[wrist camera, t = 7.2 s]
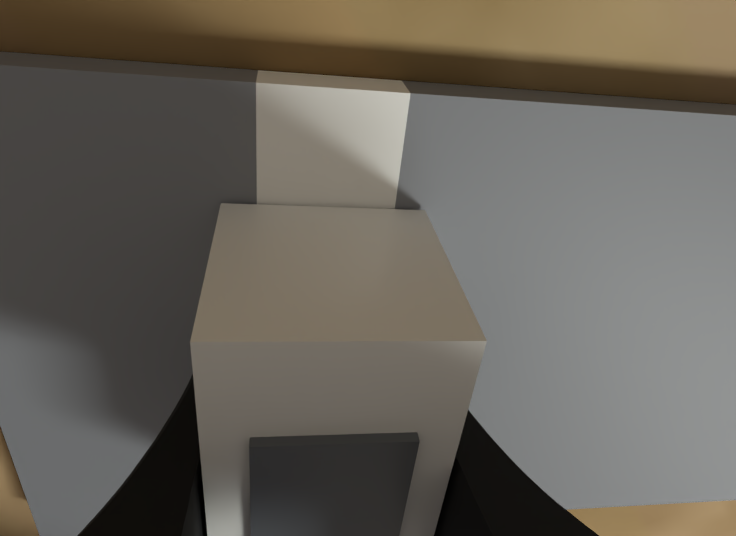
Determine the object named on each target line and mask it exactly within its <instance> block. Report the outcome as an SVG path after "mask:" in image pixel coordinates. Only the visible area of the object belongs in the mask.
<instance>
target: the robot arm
mask: <svg viewBox="0 0 736 536" xmlns="http://www.w3.org/2000/svg"><path fill="white" fill-rule="evenodd" d="M77 536H207V525H206V514H205V503H204V492H203V481H202V469H201V458H200V447H199V436H198V425H197V414H196V403H195V392H194V380H193V374H192V376H191V379H190V381H189V383H188V385H187V387H186V389H185V391H184V392H183V394H182V396H181V398H180V400H179V401H178V403H177V405H176V407H175V408H174V410H173V412H172V414H171V415H170V417H169V418H168V420H167V421H166V423H165V425H164V426H163V428H162V429H161V431H160V432H159V434H158V436H157V437H156V439H155V440H154V442H153V443H152V445H151V446H150V447H149V449H148V450H147V451H146V453H145V454H144V456H143V457H142V458H141V460H140V461H139V463H138V464H137V465H136V467H135V468H134V470H133V471H132V472H131V474H130V475H129V476H128V477H127V479H126V480H125V481H124V483H123V484H122V485H121V486H120V488H119V489H118V490H117V491H116V492H115V494H114V495H113V496H112V497H111V498H110V500H109V501H108V502H107V503H106V504H105V506H104V507H103V508H102V509H101V510H100V511H99V512H98V514H97V515H96V516H95V517H94V518H93V519H92V520H91V521H90V522H89V523H88V524H87V526H86V527H85V528H84V529H83V530H82V531H81V532H80V533H79V534H78V535H77ZM434 536H599V535H597V534H596V533H595V532H593V531H592V530H591V529H590V528H588V527H587V526H586V525H584V524H583V523H582V522H581V521H579V520H578V519H577V518H576V517H574V516H573V515H572V514H571V513H569V512H568V511H567V510H566V509H564V508H563V507H562V506H561V505H559V504H558V503H557V502H556V501H555V500H554V499H552V498H551V497H550V496H549V495H548V494H547V493H545V492H544V491H543V490H542V489H541V488H540V487H539V486H538V485H537V484H536V483H535V482H534V481H533V480H531V479H530V478H529V477H528V476H527V475H526V474H525V473H524V472H523V471H522V470H521V469H520V468H519V467H518V466H517V465H516V464H515V463H514V462H513V461H512V460H511V458H510V457H509V456H508V455H507V454H506V453H505V452H504V451H503V450H502V449H501V448H500V447H499V445H498V444H497V443H496V442H495V441H494V440H493V439H492V438H491V436H490V435H489V434H488V433H487V432H486V431H485V429H484V428H483V427H482V426H481V425H480V423H479V422H478V421H477V420H476V418H475V417H474V416H473V415H472V414H471V412H470V411H469V410H468V412H467V416H466V420H465V423H464V427H463V431H462V434H461V438H460V442H459V445H458V449H457V452H456V456H455V460H454V463H453V467H452V471H451V474H450V478H449V482H448V485H447V489H446V493H445V496H444V500H443V504H442V507H441V511H440V515H439V518H438V522H437V526H436V529H435V533H434Z"/></svg>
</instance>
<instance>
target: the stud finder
mask: <svg viewBox="0 0 736 536" xmlns="http://www.w3.org/2000/svg"><path fill="white" fill-rule="evenodd" d="M486 343H487V340H486V338H485V336H484V334H483V332H482V329H481V327H480V325H479V323H478V321H477V319H476V317H475V315H474V313H473V310H472V308H471V306H470V304H469V302H468V300H467V298H466V296H465V293H464V291H463V289H462V287H461V285H460V283H459V281H458V279H457V277H456V274H455V272H454V270H453V268H452V266H451V264H450V262H449V260H448V258H447V255H446V253H445V251H444V249H443V247H442V245H441V243H440V241H439V239H438V236H437V234H436V232H435V230H434V228H433V226H432V224H431V222H430V220H429V217H428V215H427V213H426V211H425V210H404V209H375V208H346V207H318V206H289V205H260V204H231V203H221V205H220V209H219V214H218V218H217V223H216V227H215V232H214V236H213V241H212V245H211V250H210V254H209V259H208V263H207V268H206V273H205V277H204V282H203V286H202V291H201V295H200V300H199V304H198V309H197V313H196V318H195V322H194V327H193V331H192V336H191V340H190V347H191V358H192V369H193V380H194V392H195V403H196V414H197V425H198V436H199V447H200V458H201V469H202V481H203V492H204V503H205V514H206V525H207V536H434V533H435V529H436V526H437V522H438V518H439V515H440V511H441V507H442V504H443V500H444V496H445V493H446V489H447V485H448V482H449V478H450V474H451V471H452V467H453V463H454V460H455V456H456V452H457V449H458V445H459V442H460V438H461V434H462V431H463V427H464V423H465V420H466V416H467V412H468V409H469V405H470V401H471V398H472V394H473V390H474V387H475V383H476V379H477V376H478V372H479V368H480V365H481V361H482V357H483V354H484V350H485V346H486Z"/></svg>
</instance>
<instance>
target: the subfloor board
mask: <svg viewBox="0 0 736 536" xmlns="http://www.w3.org/2000/svg"><path fill="white" fill-rule="evenodd" d="M221 203H231V204H260V205H289V206H318V207H346V208H375V209H404V210H425V211H426V213H427V215H428V217H429V220H430V222H431V224H432V226H433V228H434V230H435V232H436V234H437V236H438V239H439V241H440V243H441V245H442V247H443V249H444V251H445V253H446V255H447V258H448V260H449V262H450V264H451V266H452V268H453V270H454V272H455V274H456V277H457V279H458V281H459V283H460V285H461V287H462V289H463V291H464V293H465V296H466V298H467V300H468V302H469V304H470V306H471V308H472V310H473V313H474V315H475V317H476V319H477V321H478V323H479V325H480V327H481V329H482V332H483V334H484V336H485V338H486V340H487V343H486V346H485V350H484V354H483V357H482V361H481V365H480V368H479V372H478V376H477V379H476V383H475V387H474V390H473V394H472V398H471V401H470V405H469V409H468V410H469V411H470V412H471V414H472V415H473V416H474V417H475V418H476V420H477V421H478V422H479V423H480V425H481V426H482V427H483V428H484V429H485V431H486V432H487V433H488V434H489V435H490V436H491V438H492V439H493V440H494V441H495V442H496V443H497V444H498V445H499V447H500V448H501V449H502V450H503V451H504V452H505V453H506V454H507V455H508V456H509V457H510V458H511V460H512V461H513V462H514V463H515V464H516V465H517V466H518V467H519V468H520V469H521V470H522V471H523V472H524V473H525V474H526V475H527V476H528V477H529V478H530V479H531V480H533V481H534V482H535V483H536V484H537V485H538V486H539V487H540V488H541V489H542V490H543V491H544V492H545V493H547V494H548V495H549V496H550V497H551V498H552V499H554V500H555V501H556V502H557V503H558V504H559V505H561V506H562V507H563V508H564V509H583V508H601V507H619V506H637V505H654V504H672V503H690V502H708V501H726V500H736V105H733V104H719V103H705V102H691V101H677V100H663V99H650V98H636V97H622V96H608V95H594V94H580V93H567V92H553V91H539V90H525V89H511V88H498V87H484V86H470V85H456V84H442V83H428V82H415V81H401V80H387V79H373V78H359V77H345V76H332V75H318V74H304V73H290V72H276V71H263V70H249V69H235V68H221V67H207V66H193V65H180V64H166V63H152V62H138V61H124V60H110V59H97V58H83V57H69V56H55V55H41V54H28V53H14V52H0V427H1V429H2V432H3V435H4V438H5V440H6V443H7V446H8V449H9V452H10V454H11V457H12V460H13V463H14V466H15V468H16V471H17V474H18V477H19V479H20V482H21V485H22V488H23V491H24V493H25V496H26V499H27V502H28V505H29V507H30V510H31V513H32V516H33V518H34V521H35V524H36V527H37V530H38V532H39V535H40V536H77V535H78V534H79V533H80V532H81V531H82V530H83V529H84V528H85V527H86V526H87V524H88V523H89V522H90V521H91V520H92V519H93V518H94V517H95V516H96V515H97V514H98V512H99V511H100V510H101V509H102V508H103V507H104V506H105V504H106V503H107V502H108V501H109V500H110V498H111V497H112V496H113V495H114V494H115V492H116V491H117V490H118V489H119V488H120V486H121V485H122V484H123V483H124V481H125V480H126V479H127V477H128V476H129V475H130V474H131V472H132V471H133V470H134V468H135V467H136V465H137V464H138V463H139V461H140V460H141V458H142V457H143V456H144V454H145V453H146V451H147V450H148V449H149V447H150V446H151V445H152V443H153V442H154V440H155V439H156V437H157V436H158V434H159V432H160V431H161V429H162V428H163V426H164V425H165V423H166V421H167V420H168V418H169V417H170V415H171V414H172V412H173V410H174V408H175V407H176V405H177V403H178V401H179V400H180V398H181V396H182V394H183V392H184V391H185V389H186V387H187V385H188V383H189V381H190V379H191V376H192V374H193V369H192V358H191V347H190V340H191V336H192V331H193V327H194V322H195V318H196V313H197V309H198V304H199V300H200V295H201V291H202V286H203V282H204V277H205V273H206V268H207V263H208V259H209V254H210V250H211V245H212V241H213V236H214V232H215V227H216V223H217V218H218V214H219V209H220V205H221Z"/></svg>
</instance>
